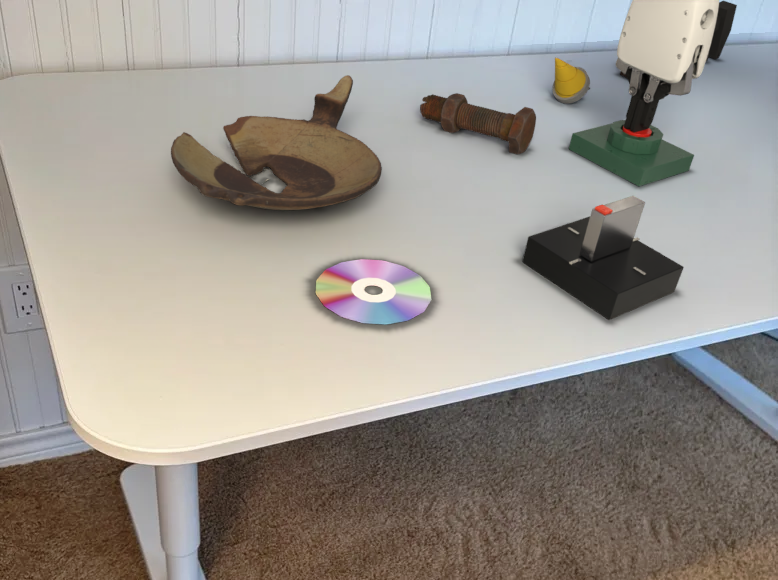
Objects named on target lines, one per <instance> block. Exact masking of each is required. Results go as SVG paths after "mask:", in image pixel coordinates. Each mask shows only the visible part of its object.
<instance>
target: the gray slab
mask: <svg viewBox="0 0 778 580" xmlns="http://www.w3.org/2000/svg"><path fill="white" fill-rule="evenodd" d="M645 205H646V201H644V200H642V199H640V198H639V197H636V196H635V195H630V196H628V197H624V198H622V199H621V198H620V199H619V200H616V201H613V202H609V203H606V204H599V205H596V206H595V207H594V208H592V209H591V211H590V212H591V213H590V215H589V216H590V219H589V223H588V226H587V230H586V233H585V237H584V240H583V244H582V247H581V251H580V255H581V256H583V257H584V258H586V259H587V260H589V261H591V262H592V261H595V260H598V259H600V258H603V257H606V256H608V255H611V254H614V253H616V252H619V251H622V250H625V249H627V248H630V247H631V245H632V242H633V239H634V238H635V235H636V233H637V229H638V227H639V223H640V221H641V218H642V214H643V211H644V208H645Z"/></svg>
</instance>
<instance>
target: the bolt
mask: <svg viewBox="0 0 778 580" xmlns="http://www.w3.org/2000/svg"><path fill="white" fill-rule="evenodd" d="M421 100H422V102H423V103H421V104H420V105H419V112H420V113H421V116H422V118H424V119H426V120H430V121H433V122H437V123H440V126H441V128H442V129H443V131H444V132H446V133H450V134H454V133H457V132H459V131H460V130H461V129H462V130H465V131H470V132H474V133H477V134H481V135H485V136H488V137H493V138H496V139H498V140H501V141H503V142H506V143H508V151H509V153H510V154H515V155H521V154H523V153H525V152H526V150H527V149H528V147H529V146H530V144H531V142H532V140H533V137H534V133H535V129H536V122H537V115H536V112H535V110H534V109H533V108H531V107H527V106H524V107H522V108H521V109H520V110H518V111H516V113H511V112H503V111H499V110H496V109H491V108H487V107H484V106H480V105H475V104H471V103H469V102H468V98H467V97H466V96H465V94H462V93H458V92H456V93H452V94H449V96H447V97H446V96H445V97H444V96H441V95H436V94H433V93H432V94H430V95H429V94H428V95H427V96H424V97H422V99H421Z"/></svg>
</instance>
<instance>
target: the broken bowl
mask: <svg viewBox="0 0 778 580" xmlns="http://www.w3.org/2000/svg"><path fill="white" fill-rule="evenodd" d="M353 85H354V80H353V77H352V75H348V74H347V75H344V76H342V77H341V78H340V79H339V81H338V82H337V83H336V85H335V86H334V87H333V88H332V89H331V90H330V91H328V92H327V93H317V94H315V95H314V98H313V100H314V105H313V110H312V116H311V118H310V119H309V120H306V119H297V118H296V119H294V118H284V117H278V116H261V115H245V116H240V117H237V118H236V120H235V121H234V122H233V123H231V124H226V125H223V128H222V129H223V132H224V133H225V137H226V140H227V141H228V142H229V145H230V147H231V150H232V151H233V153H234V156H235V158H236V159H237V161H238V163H239V166H240V167H241V168H242V170H243V172H244V173H242V171H241V170H239V169H237V168H235V167H234V166H233V165H231V164H229V163H227V162H226V161H224V160H222V159H221V158H220V157H218V156H216V155H214V154H212V153H211V151H210V150H209V149H208V148H206V147H205V146H204V145H202V144H201V143H199V142H198V140H197V139H195V138H194V136H192V135H191V134H189V133H188V132H186V131H183V132H182V133H181V135H178V136H176V138H175V139H174V140H173V142H172V144H171V147H170V158H171V161H172V164H173V166H174V168H175V169H176V170H177V172H178V174H180V175H181V177H182V178H183V179H184V180H186V181H187V182H188V183H189V184H191V185H193V186H194V187H196V188H197V189H198V191H199V193H200V194H201V195H202V196H205V197H207V198H214V199H219V200H223V201H228V202H230V203H232V204H234V205H236V206H248V207H254V208H257V209H258V208H259V209H265V210H271V211H272V210H275V211H276V210H277V211H298V210H308V209H315V208H323V207H326V206H332V205H337V204H340V203H343V202H347V201H350V200H354V199H356V198H358V197H360V196H362V195H364V194H366V193H367V192H368V191H370V190H372V188H374V187H375V186H377V184H378V183H379V181H380V179H381V176H382V169H383V167H382V162H381V160H380V158H379V157H378V155H377V154H376V153H375V152H374V151H373V150H372V149H371V148H370V147H369V146H368V145H367V144H365V142H363V141H362V140H360V139H358V138H357V137H355V136H353V135H350V134H349V133H346V132H344V131H342V130H340V129H338V125H339V122H340V121H341V118H342V116H343V113H344V111H345V109H346V105H347V104H348V101H349V99H350V96H351V92H352V89H353ZM266 167H268V168H270V170H271V171H272V173H273V174H274V175H275V176H276V177H277V178H278V179H280V180H281V181H282V182H283V183H285V184H286V186H285V187H284V188H283V190H282V191H281V192H275V191H272V190H271V189H268V187H266V186H263V184H264V183H265V182H267V181H268V180H270V178H266V179H265V180H264V181H263V182H262V183H261V184H262V185H261V184H259V183H258V182H257V181H255V180H253V179H252V178H250V176H252V175H257V174H258V173H260V172H263V171H264V169H265V168H266Z"/></svg>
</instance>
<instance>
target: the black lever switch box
mask: <svg viewBox="0 0 778 580" xmlns="http://www.w3.org/2000/svg"><path fill="white" fill-rule="evenodd" d="M590 216H591V215H589V216H587V217H583V218H580V219H578V220H575V221H572V222H568V223H565V224H562V225H559V226H555V227H553V228H550V229H547V230H544V231H541V232H539V233H535V234H533V235H529V236H528V237H527V241H526V245H525V248H524V254H523V258H522V263H523V264H525V265H526V266H528V267H529V268H531V269H532V270H534V271H535V272H537V273H538V274H540V275H541V276H542V277H544V278H546V279H547V280H549V281H550V282H551V283H553V284H554V285H556V286H558V287H559V288H560V289H562V290H563V291H565V292H566V293H568V294H570V295H571V296H573V297H574V298H576V300H578V301H580V302H581V303H583V304H584V305H586V306H588V307H589V308H590V309H592V310H593V311H594V312H596V313H598V314H599V315H601V316H602V317H604V318H605V319H607V320H608V321H610V320H613V319H615V318H618V317H620V316H622V315H625V314H627V313H629V312H631V311H634V310H636V309H638V308H641V307H643V306H645V305H648V304H650V303H652V302H654V301H657V300H659V299H661V298H664V297H666V296H669V295H671V294H674V293H675V291H676V289H677V286H678V283H679V281H680V278H681V277H682V273H683V271H684V268H685V267H684V266H683V265H682V264H680V263H678V262H676V261H674V260H673V259H671V258H669V257H667V256H666V255H664V254H663V253H661V252H659V251H657V250H656V249H653V247H650V246H649V245H648V244H645V243H643V242H642V241H640V240H641V238H639V237H638V236H636V237H634V239H633V242H632V245H631V247H630V248H627V249H625V250H622V251H619V252H616V253H614V254H611V255H608V256H606V257H603V258H600V259H598V260H595V261H592V262H591V261H589V260H587V259H586V258H584V257H583V256H581V255H580V251H581V247H582V244H583V240H584V237H585V233H586V230H587V226H588V223H589V219H590Z"/></svg>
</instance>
